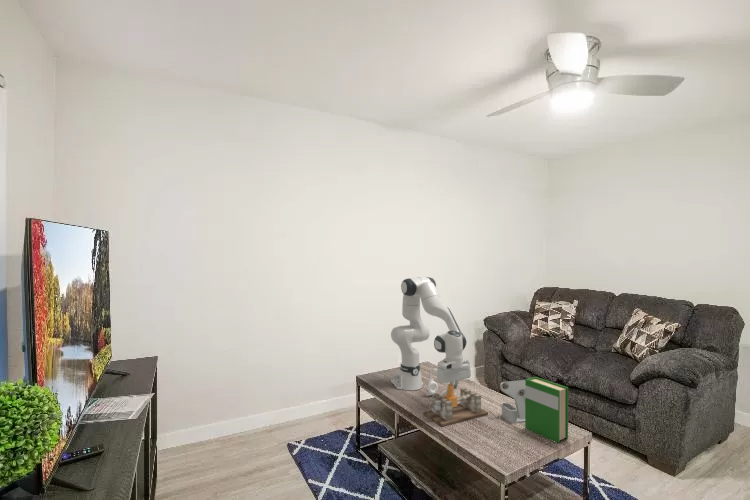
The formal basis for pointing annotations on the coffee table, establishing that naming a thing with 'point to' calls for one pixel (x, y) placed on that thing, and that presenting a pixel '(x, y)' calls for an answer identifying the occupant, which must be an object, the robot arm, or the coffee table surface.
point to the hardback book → (546, 408)
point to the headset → (434, 386)
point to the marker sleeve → (451, 395)
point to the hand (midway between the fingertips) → (454, 388)
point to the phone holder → (508, 410)
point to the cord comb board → (455, 408)
